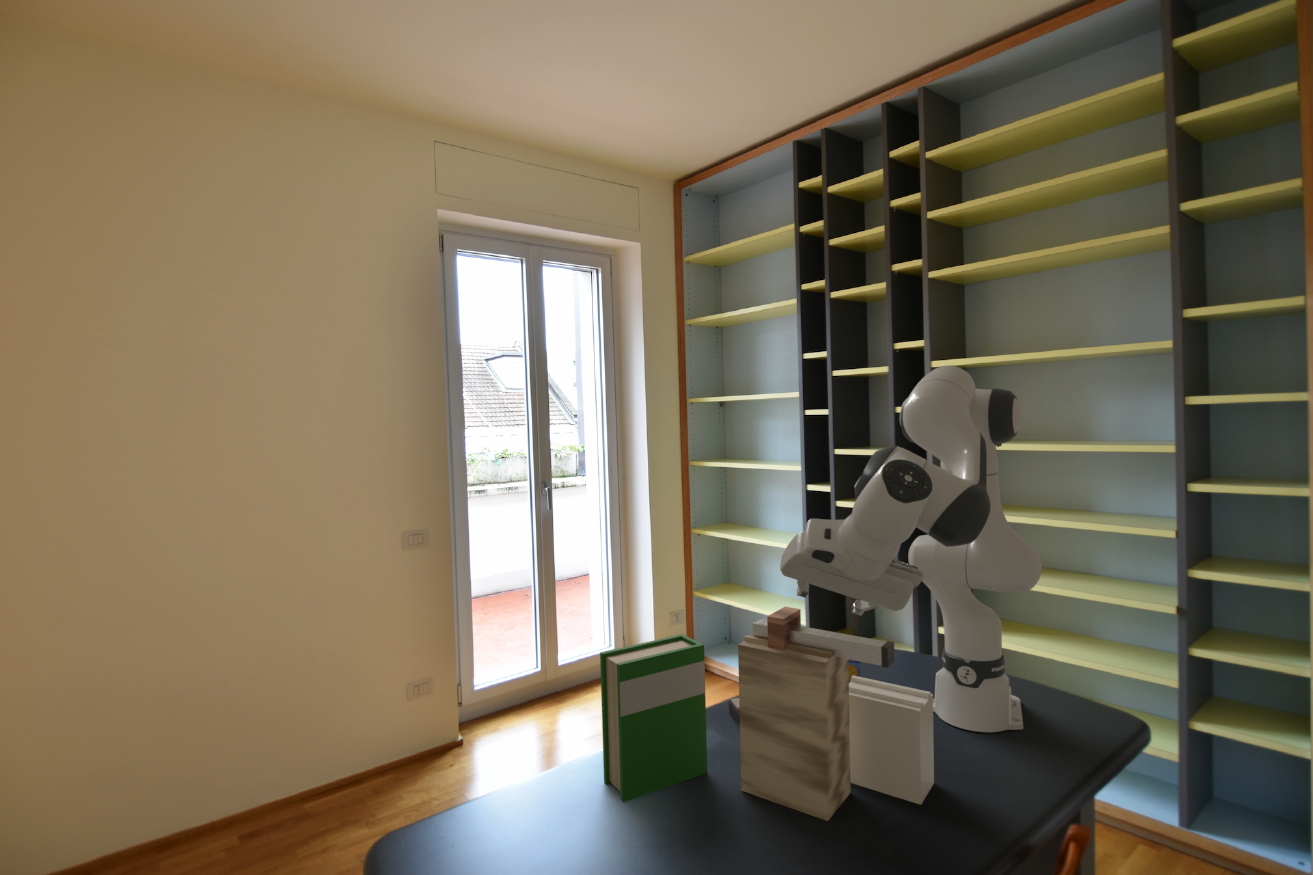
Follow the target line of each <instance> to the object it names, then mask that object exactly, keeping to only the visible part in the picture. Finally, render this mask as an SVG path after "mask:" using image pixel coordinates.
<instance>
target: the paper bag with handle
mask: <svg viewBox="0 0 1313 875" xmlns="http://www.w3.org/2000/svg"><path fill="white" fill-rule="evenodd" d="M766 617H767V619H766V620H767V624H768V639H764V638H759V637H754V636H753V635H749V634H746V635H745V636H743V638H744V640H743V641H742V642H740V643H738V645H737V658H738V659H737V660H738V662H737V664H738V691H739V692H738V698H739V708H740V726H739V741H740V742H739V743H740V744H739V746H740V779H741V780H740V786H741V788H740V789H741V791H742V792H745V793H747V794H751V795H753V796H756V797H758V798H761V799H763V800H764V799H765V800H767V801H770V802H772V803H774V804H778V805H781V806H785V807H786V808H789V809H793V810H796V811H798V812H801V813H804V814H807V815H809V816H812V817H816V818H818V819H820V820H823V821H825V822H828V821H829V820H830V819H831V818H832V817H833V815H834V814H835V813H836V811H837V810H838V809H839V808H840V807H841V805H842V804H843V803H844V802H845V800H846V799H847V798H848V796H849V795H850V794H851V790H852V788H851V783H850V727H849V669H848V659H845V658H840V657H835V656H833V652H830V651H825V650H820V649H815V648H810V647H805V646H800V645H795V644H790V643H787V624H791V625H797V626H802V623H801V622H802V620H801V619H802V617H801V608H795V607H790V606H784V607H782V608H780V609H778V610H776V611H774V612H773V613H770V614H769V615H767V616H766Z"/></svg>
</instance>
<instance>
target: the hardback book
mask: <svg viewBox="0 0 1313 875" xmlns="http://www.w3.org/2000/svg"><path fill="white" fill-rule="evenodd" d="M599 655H600V656H599V657H600V658H599V660H600V689H601V690H600V691H601V725H602V726H601V728H602V755H603V756H602V758H603V759H602V760H603V761H602V763H603V784H604V785H605V784H606V785H605V786H608V785H613V786H614V787H615V788H616V789H618V791H619V792H620V801H621V802H622V803H626V802H629V801H631V800H632V801H633V800H636V799H637V798H641V797H643V796H645V795H646V796H647V795H648V794H652V793H654V792H658V791H659V790H663V789H666V788H669V787H671V786H674V785H676V784H679V783H682V782H684V781H685V782H686V781H688V780H690V779H693V778H697V777H699V776H702V775H705V774H707V773H708V747H707V746H708V745H707V743H708V742H707V709H706V708H707V707H706V702H707V701H706V671H705V644H704V643H701V642H700V641H697V640H695V639H693V638H691V637H690V636H688V635H685V634H683V633H681V634H677V635H673V636H666V637H663V638H659V639H654V640H650V641H646V642H641V643H637V644H632V645H627V646H623V647H620V648H619V647H618V648H615V649H610V650H606V651H601V652H599Z"/></svg>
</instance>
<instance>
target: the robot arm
mask: <svg viewBox="0 0 1313 875" xmlns="http://www.w3.org/2000/svg"><path fill="white" fill-rule="evenodd" d="M899 412H900V413H899V424H900V428H901V432H902V435H903V436H904V437H905V438H906V439H907V440H908V441H909V442H910V443H913V444H916V445H917V446H918V447H920V448H921V449H923V450H924V451H926V452H928V453H930V454H931V455H932V456H933V457H935V458H937V459H938V460H939V461H940V466H939V465H936V464H934V463H933V462H931V461H929V460H927V459H926V458H923V457H922V456H920V455H918V454H916V453H914V452H912V451H911V450H908V449H906V448H904V447H900V446H898V445H894V446H893V445H892V446H888V447H885V448H881V449H878V450H876V451H874V453H873V454H872V455H871V456H870V458H869V460H868V462H867V463H866V466H865V468H864V469H863V472H862V474H861V475H860V477H859V478H858V480H857V481H856V482H855V485H854V487H853V488H854V497H855V501H854V503H853V506H852V512H851V513H850V514H849V515H848V516H847V517H846V518H845V519H823V518H822V519H821V518H809V520H808V521H807V522H806V525H805V528H804V530H803V531H801V532H799V533H797V534H796V535H795V536H793V538H792V539H791V540H790V541H789V543H788V545H787V546H786V547H785V549H784V551H783V553H782V554H781V558H780V565H779V570H780V572H781V574H782V576H784V577H787V578H790V579H793V580H797V582H796V583H797V589H796V596H798V597H801V598H807V596H808V595H809V592H810V585H812V586H816V587H818V588H821V589H825V590H827V591H831V592H834V593H837V594H840V595H843V596H846V597H849V598H853V599H855V601H854V602H853V604H852V606H851V609H852V610H851V612H852V614H854V615H857V616H862V615H863V614H864V613H865V612H866V611H870V610H873V609H876V608H878V607H881V608H884V609H887V610H890V611H893V612H898V611H900V610H901V611H902V610H903V609H905V607H906V606H907V604H908V602H909V601H910V598H911V596H912V594H913V591H914V589H915V588H917V587H918V586H920V585H921V583H923V584H924V585H925V586H926V587H927V588H928V589H929V590H930V592H931V593H932V594H933V596H934V598H935V599H936V601H937V603H938V606H939V607H940V610H941V615H942V622H943V631H944V647H943V648H942V654H941V659H942V666H943V667H942V668H940V670H938V671H937V672H936V673H935V684H934V685H935V686H934V697H933V713H935V714H936V715H937V716H938V717H939V718H940V719H941V720H942V721H943V722H945V723H947V724H949V725H951V726H954V727H957V728H959V729H963V730H967V731H972V732H979V733H997V732H1003V731H1008V730H1012V731H1013V730H1015V731H1018V730H1023V729H1024V721H1023V714H1022V713H1023V711H1022V706H1021V705H1022V703H1021V699H1020V698H1019V697H1018V696H1016V695H1013V694H1012V686H1010V677H1009V676H1008V675H1007V673H1005V672H1006V660H1005V656H1004V650H1003V648H1002V647H1003V639H1002V638H1003V637H1002V636H1003V635H1002V634H1003V633H1002V632H1003V630H1002V628H1003V626H1002V625H1003V624H1002V621H1001V619H1000V617H999V616H998V615H999V614H997V613H996V611H994V610H993V609H992V608H991V607H989V606H987V605H986V604H984V603H983V602H981V601H979V600H978V599H977V598H976V597H975V595H974V594H973V592H972V590H971V589H975V590H984V591H991V592H1000V593H1018V592H1020V593H1021V592H1028V591H1030V590H1032V589H1033V588H1035V586H1036V585H1037V584H1038V582H1039V580H1040V578H1041V576H1042V570H1043V568H1042V567H1043V565H1042V561H1041V557H1040V556H1039V553H1038V551H1037V550H1036V549H1035V547H1034V546H1032V545H1031V544H1030V543H1029V542H1027V541H1026V540H1024V539H1023V538H1022V537H1021V536H1020V535H1018V533H1017V532H1016V531H1015V530H1014V529H1013V527H1012V526H1011V525H1010V523H1009V522H1008V520H1007V518H1006V516H1005V514H1004V510H1003V506H1002V503H1001V502H1002V501H1001V500H1002V499H1001V493H1000V492H1001V491H1000V475H999V474H1000V473H999V460H998V459H999V458H998V452H997V451H998V450H997V448H999V447H1002V445H1003V444H1005V443H1008V442H1010V441H1011V440H1013V439H1014V437H1016V436H1017V434H1018V431H1019V429H1020V427H1021V424H1022V420H1023V412H1022V407H1021V405H1020V402H1019V401H1018V398H1017V396H1016V395H1015V394H1014V393H1013V392H1012V391H1011V390H1007V389H1003V388H995V387H994V388H992V389H983V388H976V384H975V380H974V379H973V377H972V376H971V374H970V373H969V372H968V371H966V370H965V369H962V368H961V367H958V366H954V365H943V366H940V367H936V368H935V369H934V368H933V369H932V370H931V371H930V372H928V373H927V374H926V375H925V376H923V377H922V378H921V380H919V381H918V383H917V384H916V385H915V387H914V388H913V389H912V391H911V392H910V394H909V395H908V397H906V399H904V401H903V402H902V405H901V408H900V411H899ZM916 528H917V529H918V530H920V531H922V532H923V533H926V534H923V535H918V536H917V537H916V538H915V539H914V540H913V542H912V543H911V545H910V547H909V548H908V556H907V557H908V563H906V562H903V561H901V560H898V559H895V558H896V557H897V556H898V554H899V552H900V548H901V545H902V543H904V542H905V541H907V540H908V539H909V538H911V535H912V534H913V533H914V531H915V530H916Z"/></svg>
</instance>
